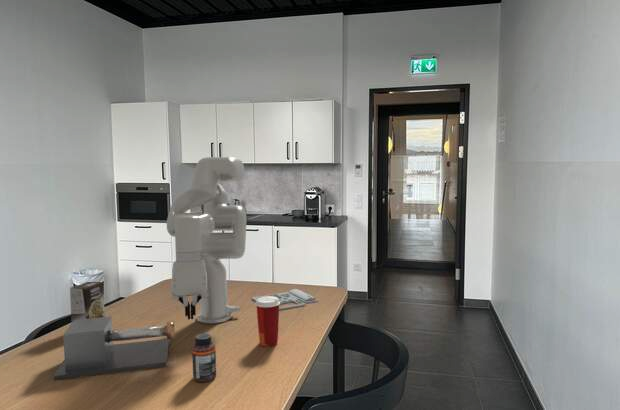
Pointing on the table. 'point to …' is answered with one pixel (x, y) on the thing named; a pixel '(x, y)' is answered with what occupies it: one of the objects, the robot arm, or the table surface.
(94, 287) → the coffee box
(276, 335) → the paper cup
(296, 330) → the table surface
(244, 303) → the table surface
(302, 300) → the office telephone
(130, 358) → the grey fixture block
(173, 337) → the shaft
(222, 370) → the table surface
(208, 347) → the supplement bottle
